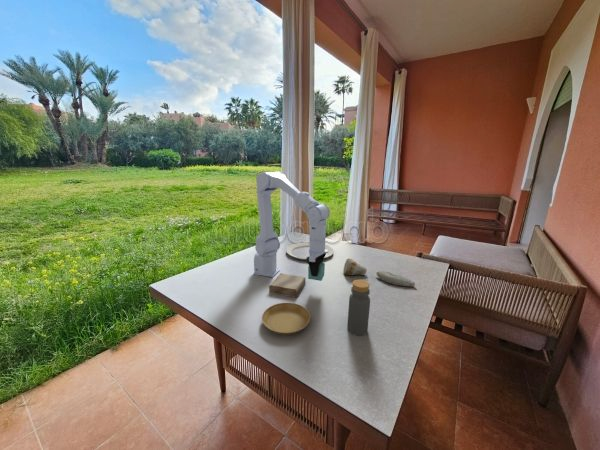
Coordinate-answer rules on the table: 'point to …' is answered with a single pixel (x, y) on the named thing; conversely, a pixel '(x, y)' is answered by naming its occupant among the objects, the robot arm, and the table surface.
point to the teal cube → (320, 273)
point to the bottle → (359, 308)
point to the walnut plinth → (287, 285)
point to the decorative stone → (394, 278)
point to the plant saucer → (286, 318)
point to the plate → (306, 244)
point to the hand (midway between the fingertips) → (316, 272)
